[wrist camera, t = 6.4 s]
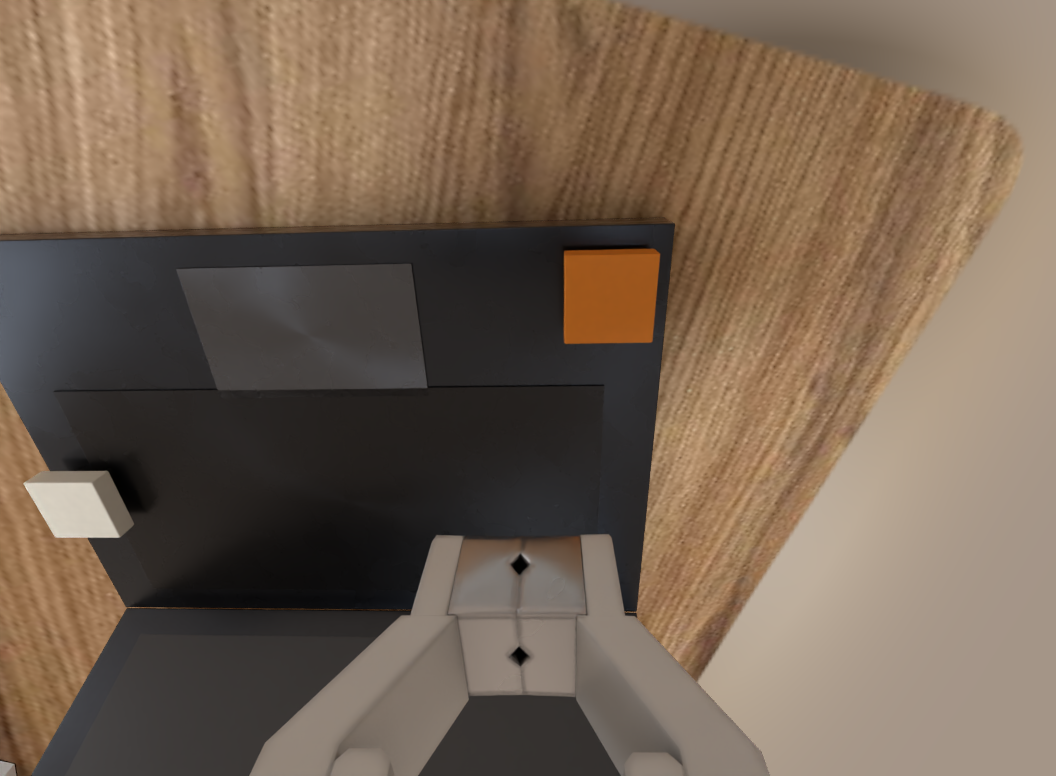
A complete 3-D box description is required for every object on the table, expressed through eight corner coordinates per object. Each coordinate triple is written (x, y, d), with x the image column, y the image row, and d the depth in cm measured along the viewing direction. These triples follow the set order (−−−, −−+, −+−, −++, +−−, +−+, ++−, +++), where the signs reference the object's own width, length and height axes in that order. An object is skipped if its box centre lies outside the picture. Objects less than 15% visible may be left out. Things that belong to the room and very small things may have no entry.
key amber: (564, 250, 18) (564, 255, 18) (654, 248, 18) (660, 253, 17) (563, 335, 20) (564, 344, 19) (647, 334, 20) (652, 342, 19)
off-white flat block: (42, 470, 24) (22, 483, 23) (108, 470, 24) (91, 482, 23) (72, 524, 25) (54, 538, 25) (135, 524, 25) (120, 538, 24)
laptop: (-31, 235, 21) (-82, 242, 20) (665, 217, 20) (675, 223, 18) (147, 582, 31) (124, 608, 29) (631, 586, 29) (637, 613, 28)
